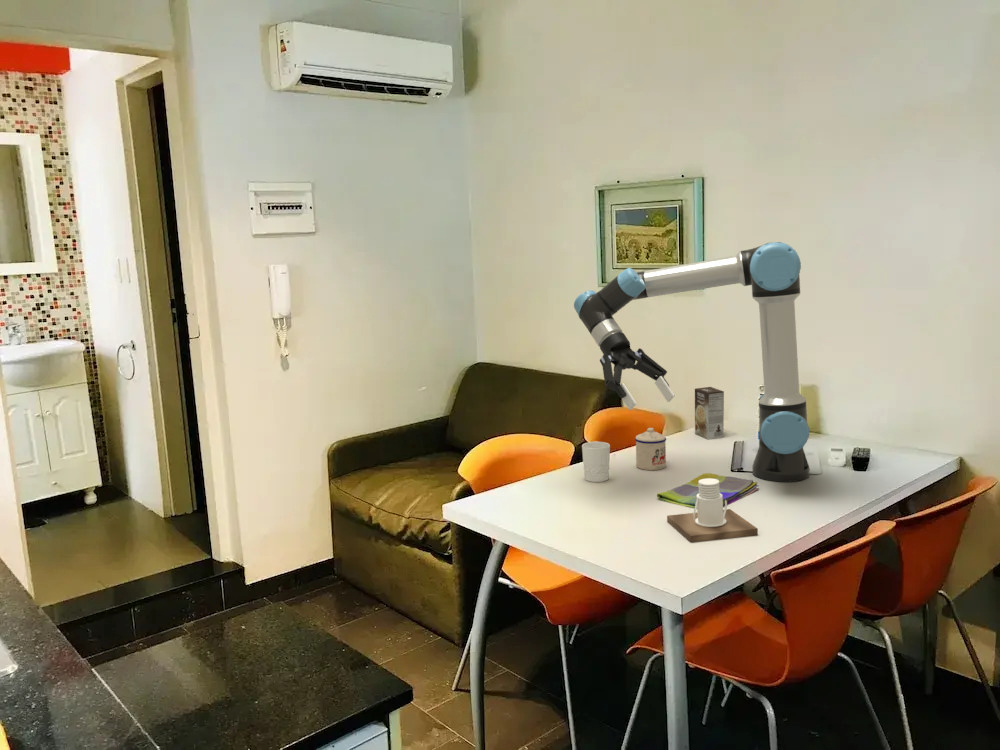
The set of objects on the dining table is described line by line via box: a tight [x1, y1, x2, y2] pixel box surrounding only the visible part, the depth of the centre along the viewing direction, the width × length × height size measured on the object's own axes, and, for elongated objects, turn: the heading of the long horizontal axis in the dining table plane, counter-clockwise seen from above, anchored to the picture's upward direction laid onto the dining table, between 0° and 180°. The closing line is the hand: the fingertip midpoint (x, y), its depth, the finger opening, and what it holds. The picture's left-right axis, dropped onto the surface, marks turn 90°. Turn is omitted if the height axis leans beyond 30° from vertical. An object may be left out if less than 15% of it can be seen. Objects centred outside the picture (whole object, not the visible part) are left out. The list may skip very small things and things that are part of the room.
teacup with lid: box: [634, 427, 667, 471], centre depth 239 cm, size 12×9×12 cm
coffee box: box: [694, 386, 725, 440], centre depth 271 cm, size 9×6×16 cm
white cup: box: [581, 441, 611, 483], centre depth 228 cm, size 8×8×10 cm
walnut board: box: [666, 508, 759, 543], centre depth 186 cm, size 16×14×2 cm
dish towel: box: [656, 472, 759, 510], centre depth 211 cm, size 18×24×3 cm
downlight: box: [692, 478, 728, 527], centre depth 185 cm, size 8×7×10 cm
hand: (652, 402), depth 204 cm, fingers open, 13 cm apart
